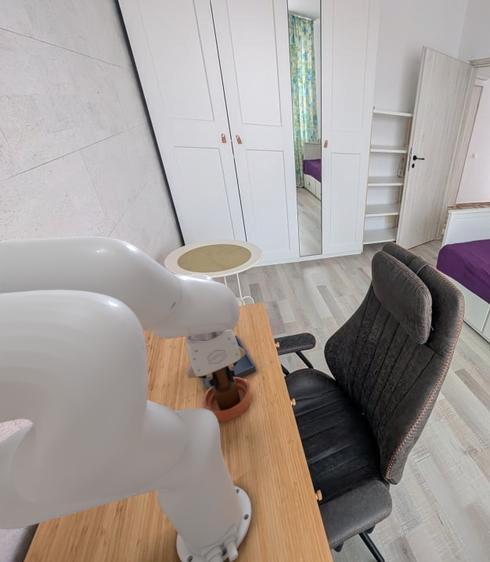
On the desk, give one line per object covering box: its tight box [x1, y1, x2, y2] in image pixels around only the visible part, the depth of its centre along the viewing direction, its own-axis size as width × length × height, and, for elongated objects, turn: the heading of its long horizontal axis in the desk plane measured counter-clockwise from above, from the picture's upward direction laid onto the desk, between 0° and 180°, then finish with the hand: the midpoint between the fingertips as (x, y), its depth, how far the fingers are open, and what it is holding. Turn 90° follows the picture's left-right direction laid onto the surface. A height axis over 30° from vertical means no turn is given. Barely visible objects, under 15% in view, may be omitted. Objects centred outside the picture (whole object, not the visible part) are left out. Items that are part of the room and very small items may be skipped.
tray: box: [202, 335, 257, 391], centre depth 87 cm, size 17×13×3 cm
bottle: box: [213, 367, 240, 411], centre depth 73 cm, size 5×5×14 cm
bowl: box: [202, 377, 253, 423], centre depth 76 cm, size 11×11×4 cm
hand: (223, 382), depth 72 cm, fingers closed on bottle, 3 cm apart
